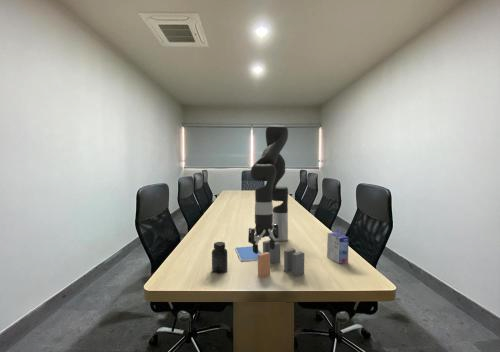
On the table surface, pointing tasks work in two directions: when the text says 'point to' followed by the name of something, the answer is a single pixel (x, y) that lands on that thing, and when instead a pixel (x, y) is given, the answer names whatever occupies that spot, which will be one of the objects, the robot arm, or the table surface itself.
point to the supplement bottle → (219, 258)
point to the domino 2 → (263, 264)
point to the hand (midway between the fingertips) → (264, 251)
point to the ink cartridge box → (337, 247)
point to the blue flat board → (247, 254)
